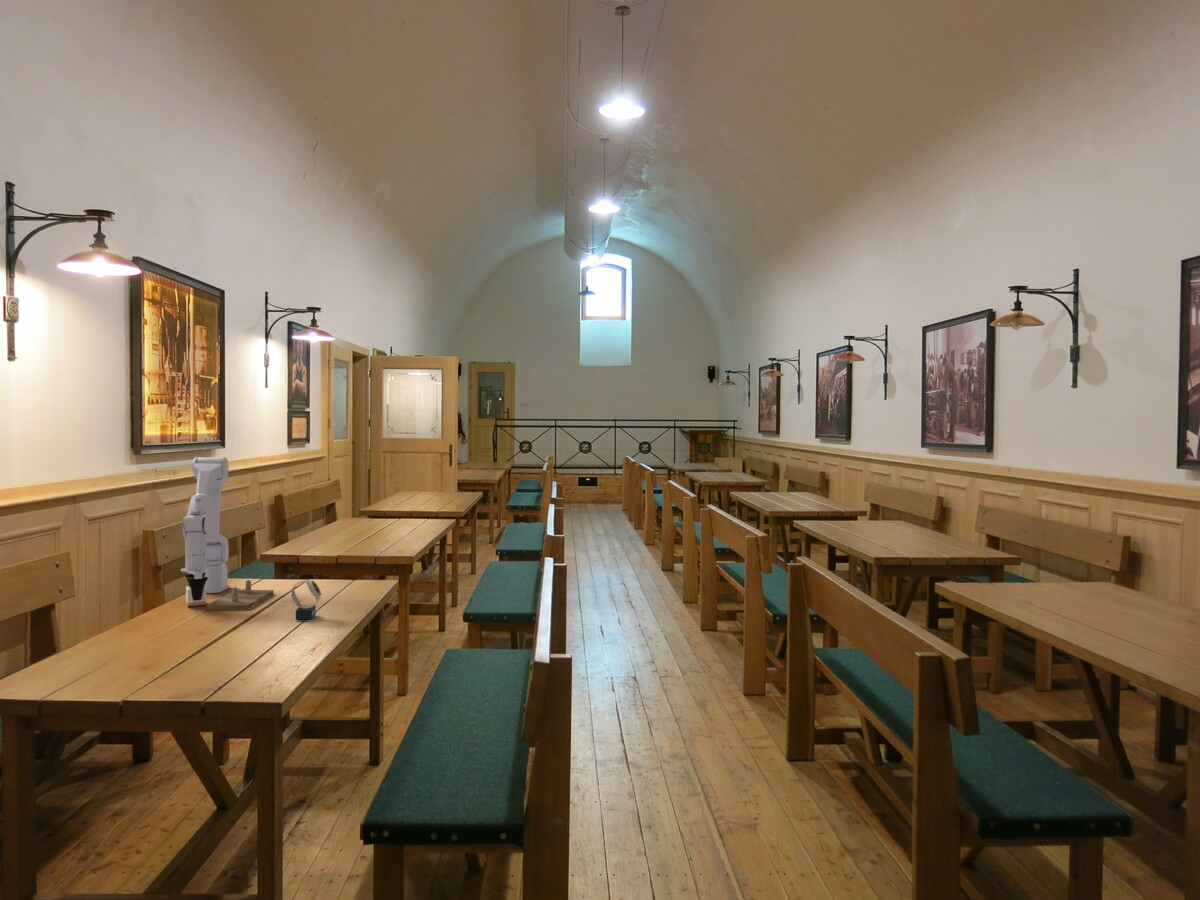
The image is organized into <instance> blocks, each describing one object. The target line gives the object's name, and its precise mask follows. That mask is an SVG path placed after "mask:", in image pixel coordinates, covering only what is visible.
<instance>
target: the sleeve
mask: <svg viewBox="0 0 1200 900" xmlns="http://www.w3.org/2000/svg"><path fill="white" fill-rule="evenodd" d="M185 589H186V590H185V597H186V598H185V603H186V605H187V607H194V606H201V605H202V606H203V605H206V604H207V593H206V587H205V585H204V589H203V594H202V598H201V600H196V601H193V598H192V593H191V588H190V586H189V585H188V586H186V587H185Z"/></svg>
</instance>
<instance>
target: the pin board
mask: <svg viewBox="0 0 1200 900" xmlns="http://www.w3.org/2000/svg"><path fill="white" fill-rule="evenodd" d="M273 594H274V590H272V589H252V580H250V579H247V580H246V581H245V589H239V588H238V587H237V586H233V587H232V589H231V592H228V593H227V594H225V595H223V596H221V597H220V598H218V599H216V600H214V601H212V602H210V603H208V604H207V605H206V610H207V611H238V610H237V609H249V608H251V607H252V606H254V605H256V604H257V603H259V602H261V601H262V602H263V600H264V599H266V598H267V599H269V598H270V597H269V596H271V595H272V596H274V595H273ZM272 596H271V597H272ZM268 597H269V598H268ZM267 599H266V600H267ZM264 601H265V600H264ZM262 602H261V603H262ZM259 604H260V603H259ZM257 605H258V604H257ZM257 605H256V606H257ZM254 607H255V606H254ZM252 608H253V607H252ZM252 608H251V609H252ZM249 610H250V609H249Z"/></svg>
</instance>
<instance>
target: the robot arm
mask: <svg viewBox="0 0 1200 900" xmlns="http://www.w3.org/2000/svg"><path fill="white" fill-rule="evenodd" d="M191 466H192V467H191V469H192V473H193V475H194V478H195V480H196V481H197V482H196V490H195V491H196V492H195V494H194V495H193V496H191V498H190V500H189V501H190V502H189V504H188V510H187V514H186V516H183V518H182V521H181V522H182V523H181V526H182V533H183V540H184V548H185V551H184V555H185V558H184V560H185V561H184V562H185V563H184V564H185V565H184V566H185V567H184V568H181V569H180V572H181V573H184V576H185V578H186V580H187V583H188V586H190V588H191V593H192V598H193V601H196V600H201V598H202V594H203V589H204V585H205V587H206V594H218V593H221V592H223V591H225V590H227V589H229V588H231V585H229V582H228V579H229V578H228V577H229V575H228V573H229V572H228V571H229V570H228V566H227V564H226V563H227V561H228V560H229V554H230V547H229V541H228V538H227V537H225V536H224V535H222V534H221V533H220V522H221V521H220V519H221V495H222V487H223V485H224V484H226V483H227V482H228V479H229V468H230V467H229V460H228V458H227V457H226V456H222V457H221V456H220V457H214V456H213V457H211V456H210V457H209V456H208V457H205V456H204V457H203V456H202V457H198V456H195V457H194V459H193V460H192V465H191Z"/></svg>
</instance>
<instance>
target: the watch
mask: <svg viewBox="0 0 1200 900" xmlns="http://www.w3.org/2000/svg"><path fill="white" fill-rule="evenodd" d="M302 583H305V584H306V585H307V587H308V590H309V592H310V593H311V595H312V596H313V597H314V598H315V600H316V601H315V602H314V603H313V604H310V605H307V604H306V605H305V604H304V605H303V604H301V601H300V600H299V599H298V597H297V595H296V591H295V588H296V586H297V585H299V584H302ZM290 596H291V600H292V601H293V603H294V605H295V606H296V607H297V608H296V609H295V621H296V620H301V621H300V622H303V621H302V620H312V619H313V620H314V618H315V617H316V616H315V615H316V612H317V610H316V608H317V607H316V605H317V604H318V602H319V601H320V599H321V596H322V592H321V589H320V587H319V586H318V584H317V583H316V581H314V580H310V579H302V580H299V581H297V582H296V583H295V584H294V585H293V586H292V588H291V590H290ZM314 616H315V617H314ZM313 620H312V621H313Z"/></svg>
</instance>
